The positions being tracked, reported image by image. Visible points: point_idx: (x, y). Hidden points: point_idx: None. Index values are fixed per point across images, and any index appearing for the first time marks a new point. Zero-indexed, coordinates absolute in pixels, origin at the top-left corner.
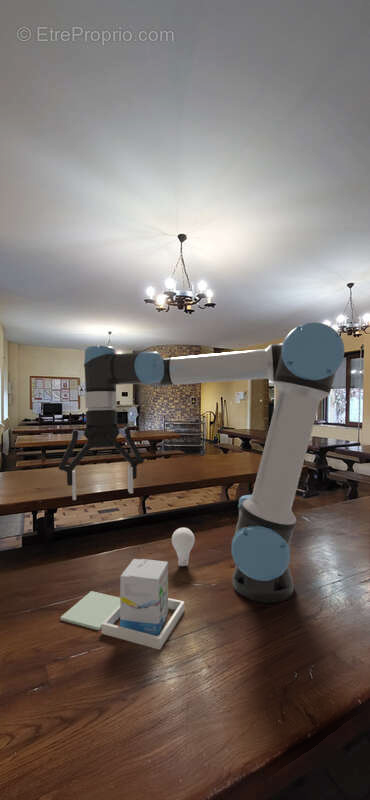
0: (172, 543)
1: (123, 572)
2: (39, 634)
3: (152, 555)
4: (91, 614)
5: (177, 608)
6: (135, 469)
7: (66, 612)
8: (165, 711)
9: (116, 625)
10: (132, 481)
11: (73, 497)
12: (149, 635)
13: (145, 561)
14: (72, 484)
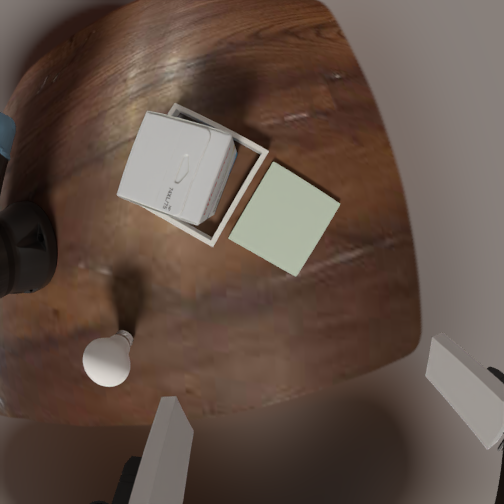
0: (128, 359)
1: (224, 150)
2: (362, 174)
3: (184, 384)
4: (289, 201)
5: None
6: (119, 497)
7: (332, 215)
8: (187, 30)
9: (243, 142)
10: (149, 440)
11: (447, 338)
12: (189, 112)
13: (167, 199)
14: (483, 370)
